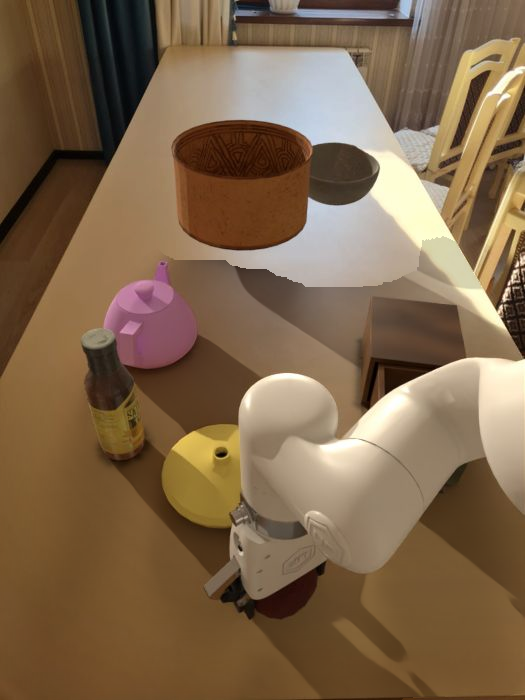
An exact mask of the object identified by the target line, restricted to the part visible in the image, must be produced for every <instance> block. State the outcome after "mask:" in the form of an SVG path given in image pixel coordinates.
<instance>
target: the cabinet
mask: <svg viewBox="0 0 525 700" xmlns="http://www.w3.org/2000/svg"><path fill="white" fill-rule="evenodd" d="M463 336H464V335H463V331H462V325H461V320H460V313H459V309H458V305H457V304H450V303H441V302H433V301H432V302H431V301H422V300H413V299H403V298H394V297H385V296H374V295H371V296H370V300H369V305H368V310H367V315H366V320H365V324H364V331H363V336H362V341H361V373H360V375H361V376H360V405H367V406H370V398H371V393H372V389H373V385H374V380H375V376H376V372H377V367H378V363H386V364H394V365H403V366H411V367H419V368H428V369H438V368H440V367H442V366H445V365H447V364H450V363H452V362H455V361H458V360H461V359H466V358H467V353H466V346H465V341H464V337H463Z"/></svg>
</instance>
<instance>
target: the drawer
mask: <svg viewBox="0 0 525 700" xmlns="http://www.w3.org/2000/svg"><path fill="white" fill-rule="evenodd" d="M433 370H435V369H428V368H419V367H411V366H403V365H394V364H386V363H378V367H377V372H376V376H375V380H374V385H373V389H372V393H371V398H370V405H369V410H370V409H371V408H372V407H373V406H374V405H375V404H376V403H377V402H378V401H379V400H380V399H382V398H383V397H384V396H385V395H387V394H388V393H389V392H391V391H392V390H394V389H396V388H398V387H399V386H401V385H403V384H405V383H407V382H409V381H411V380H414V379H416V378H418V377H420V376H422V375H425V374H427V373H429V372H431V371H433ZM468 463H469V462H467V463H464V464H462V465H461V466H459V467H458V468H457V469H456V470H455V471H454V472H453V474H452V475H451V476H450V478H449V479H448V480H447V481H446V483H445V484H444V485H443V487H442V488H441V489H440V491H439V492H438V494H440V495H441V494H442V495H443V494H444V492H445V485H453V486H458V484H459V482H460V480H461V478H462V476H463V474H464V472H465V470H466V468H467V466H468Z"/></svg>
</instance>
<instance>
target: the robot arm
mask: <svg viewBox="0 0 525 700" xmlns="http://www.w3.org/2000/svg"><path fill="white" fill-rule="evenodd" d="M238 426H239V444H240V467H241V492H240V503H238V504H239V505H238V506H237V507H236V509H235V510H233V511H231V512H229V516H230V519H231V521H232V527H230V528H231V529H230V536H229V558H230V559H229V561H228V562H227V563H226V564H225V565H224V566H223V567H222V568H221V569H220V570H219V571H218V572H217V573H216V574H214V575H213V576H212V577H211V578H210V579H209V580H208V581H206V583H204V585H203V586H202V587H203V590H204V592H205V594H206V596H207V598H208V599H209V600H213V601H219V600H220V602H221V603H222V604H229V603H232V604H233V606H234V607H235V610H236V611H237V613H238V614H242V612H244V614H245V617H246V618H247V619H248V621H251V620H252V619H254V617H255V615H256V609H255V602H254V599H255V600H258V599H263V598H265V597H267V596H269V595H271V594H273V593H274V592H276V591H278V590H279V589H281V588H283V587H284V586H286V585H288V584H289V583H291V582H293V581H294V580H296V579H298V578H299V577H301V576H302V575H304V574H306V573H307V572H309V571H310V570H312V569H314V568H315V567H316V570H317V573H318V577H321V576H322V575H325V572H326V565H327V560H328V561H330V562H331V563H333V564H335V565H337V566H339V567H342V568H344V569H346V570H347V571H349V572H351V573H354V574H355V573H356V574H359V575H361V574H362V575H363V574H364V575H365V574H367V575H368V574H371V573H374V572H376V571H378V570H380V569H381V568H382V567H384V566H385V565H386V564H387V563H388V562H389V561H390V559H391V558H392V557H393V556H394V554H395V553H396V552H397V550H398V549H399V547H400V546H401V545H402V544H403V542H404V541H405V540H406V538H407V537H408V536H409V534H410V533H411V531H412V530H413V529H414V527H415V526H416V524H417V523H418V522H419V521H420V519H421V518H422V515H423V514H425V512H426V510H427V509H428V507H429V506H430V505H431V504H432V502H433V501H434V499H435V498H436V496H438V494H439V493H438V492H439V491H440V489H441V488H442V487H443V485H446V484H445V483H446V481H447V480H448V479H449V478H450V476H451V475H452V474H453V472H454V471H455V470H456V469H457V468H458V467H459V466H461V465H462V464H464V463H467V462H468V463H470V462H473V461H477V460H479V459H483V458H486V461H487V464H488V466H489V468H490V470H491V472H492V474H493V476H494V478H495V480H496V481H497V483H498V485H499V487H500V488H501V490H502V491H503V492H504V494H505V495H506V497H507V498H508V499H509V501H510V502H511V503H512V504H513V505H514V507H515V508H516V509H517V510H518V511H519V512H520V513H521V514H522V515H524V516H525V358H524V359H521V360H518V361H517V360H516V361H515V360H513V359H509V358H508V359H507V358H500V357H466V359H461V360H458V361H455V362H452V363H450V364H447V365H445V366H442V367H440V368H438V369H435V370H433V371H431V372H429V373H427V374H425V375H422V376H420V377H418V378H416V379H414V380H411V381H409V382H407V383H405V384H403V385H401V386H399V387H398V388H396V389H394V390H392V391H391V392H389V393H388V394H387V395H385V396H384V397H383V398H382V399H380V400H379V401H378V402H377V403H376V404H375V405H374V406H373V407H372V408H371V409H370V408H369V409H368V410H367V412H366V413H364V414H363V415H362V416H361V417H360V418H359V419H358V420H357V421H356V423H354V425H353V426H351V427H350V429H349V430H347V432H346V433H345V434H343V436H341V438H340V439H339V438H337V436H338V428H339V427H338V426H339V411H338V406H337V404H336V401H335V399H334V397H333V395H332V394H331V392H330V391H329V390H328V389H327V387H326V386H324V385H323V384H322V383H320V382H319V381H318V380H317V379H314V378H312V377H309V376H307V375H305V374H299V373H292V372H282V373H281V372H280V373H275V374H271V375H268V376H265V377H263V378H261V379H260V380H257V382H255V383H253V385H251V386H250V387H249V388H248V390H247V391H246V392H245V394H244V395H243V398H242V399H241V401H240V405H239V408H238Z"/></svg>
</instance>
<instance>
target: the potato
mask: <svg viewBox="0 0 525 700" xmlns="http://www.w3.org/2000/svg"><path fill="white" fill-rule="evenodd" d="M318 577H319V576H318V573H317V570H316V567H315V568H314V569H312V570H310V571H309V572H307V573H306V574H304V575H302V576H301V577H299V578H298V579H296V580H294V581H293V582H291V583H289V584H288V585H286V586H284V587H283V588H281V589H279V590H278V591H276V592H274V593H273V594H271V595H269V596H267V597H265V598H263V599H258V600H255V599H254V602H255V612H257V613H259V614H261V615H263V616H264V617H267V618H268V619H273V620H285V619H287V618H290V617H292V616H294V615H296V614H297V613H298V612H299V611H300V610H302V609H303V608H304V607H306V606H307V604H308V602H309V601H310V599H311V598H312V597H313V596H314V593H315V592H316V589H317V586H318V579H319V578H318Z"/></svg>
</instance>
